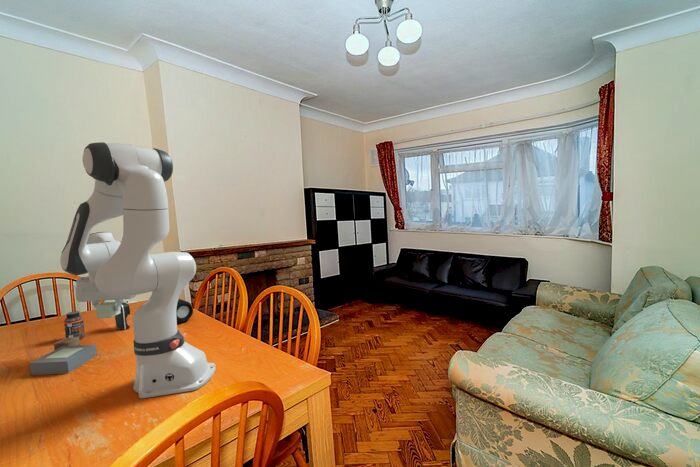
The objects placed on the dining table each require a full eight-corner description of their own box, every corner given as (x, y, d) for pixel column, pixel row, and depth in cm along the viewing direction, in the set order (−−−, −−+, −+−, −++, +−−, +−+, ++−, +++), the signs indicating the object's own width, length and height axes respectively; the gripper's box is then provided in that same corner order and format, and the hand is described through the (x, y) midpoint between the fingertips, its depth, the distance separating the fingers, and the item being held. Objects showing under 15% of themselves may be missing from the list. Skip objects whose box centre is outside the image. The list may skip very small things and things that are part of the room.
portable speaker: (195, 319, 147) (194, 299, 146) (173, 326, 139) (171, 305, 138) (171, 310, 162) (169, 291, 161) (150, 316, 154) (148, 296, 153)
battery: (133, 327, 139) (130, 302, 138) (123, 330, 136) (120, 305, 135) (125, 324, 143) (122, 300, 142) (115, 327, 140) (112, 303, 139)
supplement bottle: (74, 342, 126) (70, 315, 125) (62, 341, 127) (58, 314, 126) (89, 336, 132) (85, 310, 130) (77, 335, 133) (74, 309, 132)
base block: (97, 355, 114) (95, 344, 113) (68, 372, 102) (67, 360, 102) (63, 356, 114) (62, 345, 113) (31, 374, 102) (29, 362, 101)
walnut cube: (80, 349, 119) (79, 337, 119) (69, 356, 114) (67, 343, 114) (67, 350, 119) (65, 337, 118) (55, 356, 114) (53, 343, 114)
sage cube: (120, 313, 120) (119, 300, 119) (111, 317, 115) (109, 304, 114) (107, 313, 120) (105, 301, 119) (97, 318, 115) (95, 305, 114)
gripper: (68, 279, 113) (73, 316, 114) (125, 275, 113) (130, 312, 114) (82, 275, 119) (87, 310, 120) (137, 272, 119) (141, 307, 121)
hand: (108, 311), depth 117 cm, fingers closed on sage cube, 5 cm apart
